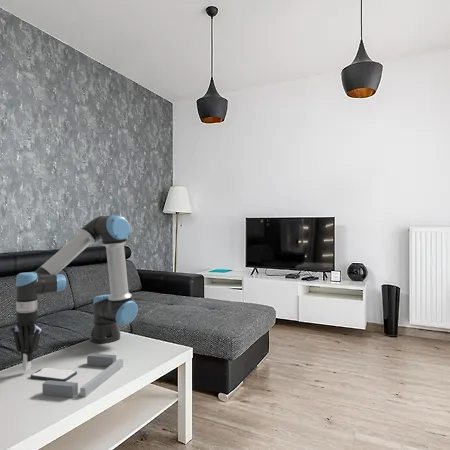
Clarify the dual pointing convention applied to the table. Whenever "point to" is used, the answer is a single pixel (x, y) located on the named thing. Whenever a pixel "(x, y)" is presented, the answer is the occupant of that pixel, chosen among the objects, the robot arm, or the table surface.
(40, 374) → the smartphone
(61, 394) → the grey u-shaped piece
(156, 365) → the table surface
